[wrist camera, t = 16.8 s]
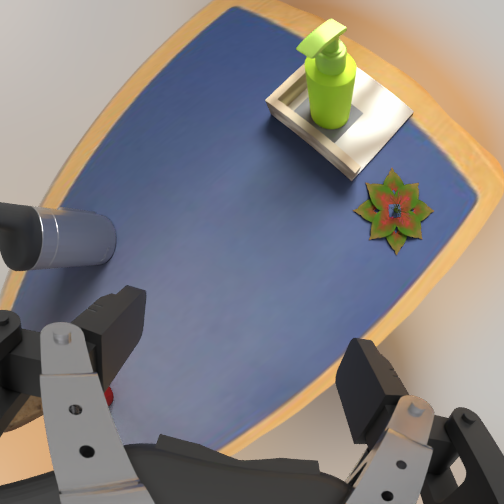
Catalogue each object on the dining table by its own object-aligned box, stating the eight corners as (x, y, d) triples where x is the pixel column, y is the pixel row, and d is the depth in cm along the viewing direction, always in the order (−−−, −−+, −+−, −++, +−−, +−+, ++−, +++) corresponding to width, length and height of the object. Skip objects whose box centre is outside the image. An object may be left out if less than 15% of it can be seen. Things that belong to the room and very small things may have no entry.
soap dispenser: (298, 117, 42) (278, 36, 22) (327, 89, 41) (324, 1, 21) (327, 141, 41) (329, 67, 21) (357, 112, 40) (373, 29, 20)
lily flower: (444, 211, 38) (456, 207, 34) (395, 270, 40) (403, 272, 36) (389, 155, 40) (396, 145, 36) (337, 211, 42) (339, 206, 37)
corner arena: (271, 114, 43) (265, 100, 38) (335, 54, 41) (335, 37, 36) (351, 181, 41) (355, 173, 36) (413, 112, 38) (421, 99, 33)
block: (51, 371, 56) (-11, 396, 36) (68, 398, 55) (8, 429, 35) (38, 387, 58) (-17, 410, 38) (53, 411, 57) (0, 439, 37)
